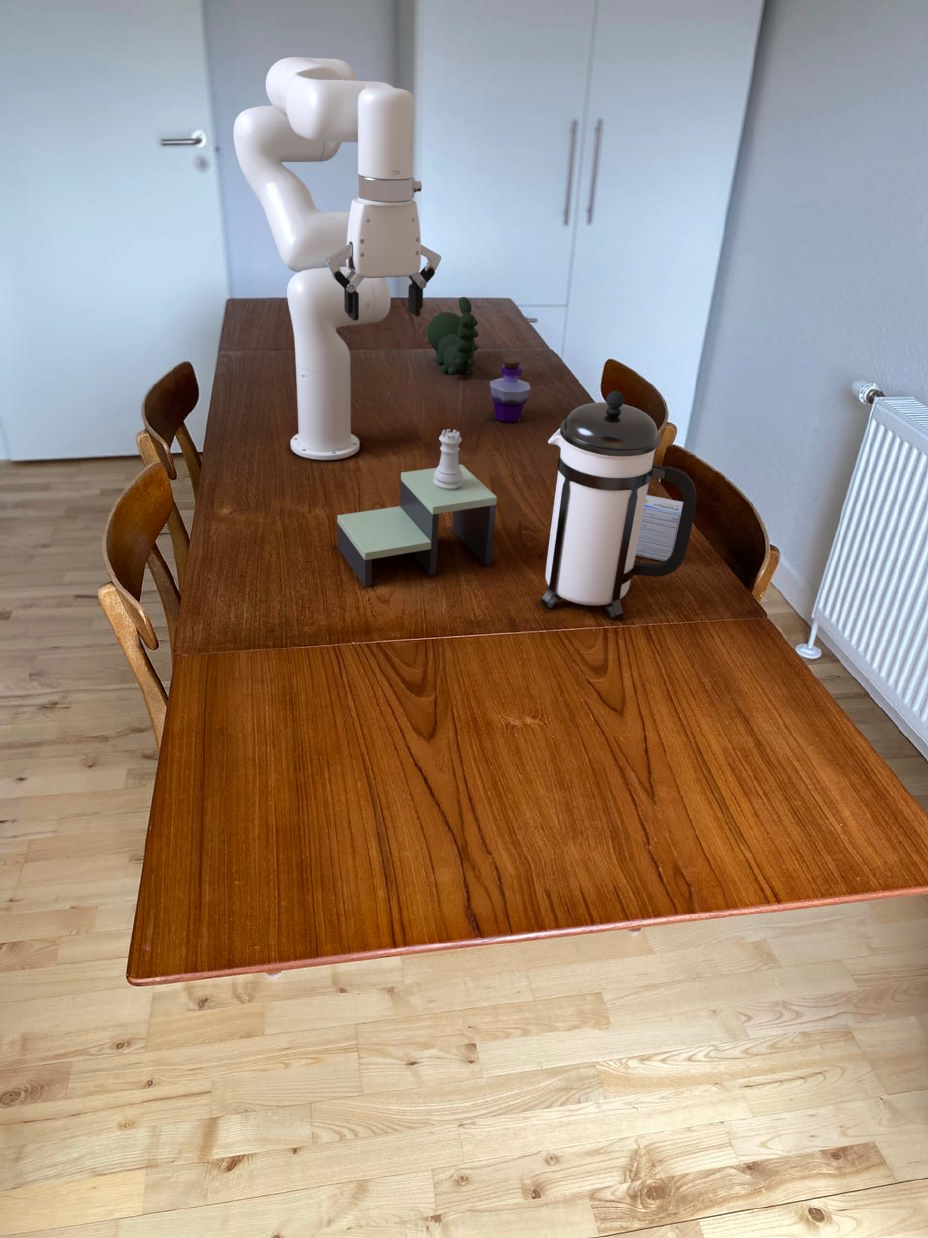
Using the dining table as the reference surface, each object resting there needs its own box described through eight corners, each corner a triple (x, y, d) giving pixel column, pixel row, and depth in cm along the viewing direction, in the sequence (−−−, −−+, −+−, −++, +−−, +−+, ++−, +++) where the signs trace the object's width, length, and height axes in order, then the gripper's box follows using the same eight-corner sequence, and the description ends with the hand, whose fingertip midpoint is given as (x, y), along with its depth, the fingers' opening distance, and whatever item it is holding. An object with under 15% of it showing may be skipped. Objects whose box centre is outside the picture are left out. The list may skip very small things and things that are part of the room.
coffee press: (574, 637, 123) (606, 422, 106) (513, 580, 134) (535, 378, 118) (676, 611, 130) (722, 405, 114) (611, 558, 142) (644, 365, 125)
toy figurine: (484, 390, 207) (456, 346, 225) (492, 306, 195) (462, 267, 214) (443, 392, 204) (418, 347, 223) (449, 307, 193) (423, 267, 211)
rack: (337, 547, 139) (336, 481, 133) (457, 528, 147) (461, 464, 141) (364, 587, 130) (364, 517, 124) (491, 563, 138) (497, 497, 132)
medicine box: (676, 551, 145) (686, 501, 140) (672, 564, 141) (682, 513, 136) (626, 541, 147) (635, 491, 142) (621, 553, 143) (630, 503, 138)
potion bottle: (515, 408, 194) (521, 351, 187) (535, 422, 188) (542, 364, 181) (479, 412, 191) (483, 354, 184) (498, 427, 184) (503, 368, 178)
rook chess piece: (431, 477, 136) (434, 426, 132) (461, 478, 137) (465, 426, 132) (433, 490, 133) (435, 438, 128) (464, 491, 133) (468, 438, 129)
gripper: (432, 185, 134) (427, 305, 143) (316, 186, 127) (319, 312, 137) (453, 194, 128) (447, 319, 138) (334, 195, 122) (336, 326, 131)
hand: (383, 315), depth 137 cm, fingers open, 9 cm apart
